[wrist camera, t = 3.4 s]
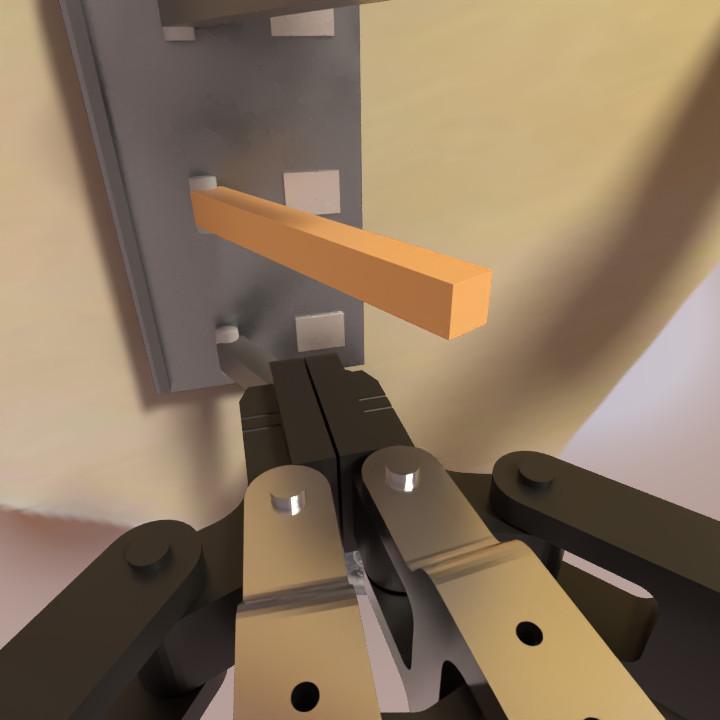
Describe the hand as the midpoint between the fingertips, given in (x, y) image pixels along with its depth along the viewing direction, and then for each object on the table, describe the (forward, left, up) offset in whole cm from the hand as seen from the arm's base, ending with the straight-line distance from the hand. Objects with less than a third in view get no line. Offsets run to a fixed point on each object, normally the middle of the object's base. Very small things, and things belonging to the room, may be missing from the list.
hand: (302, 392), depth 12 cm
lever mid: (+2, 0, -20) cm, 20 cm away
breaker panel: (0, 0, -24) cm, 24 cm away
